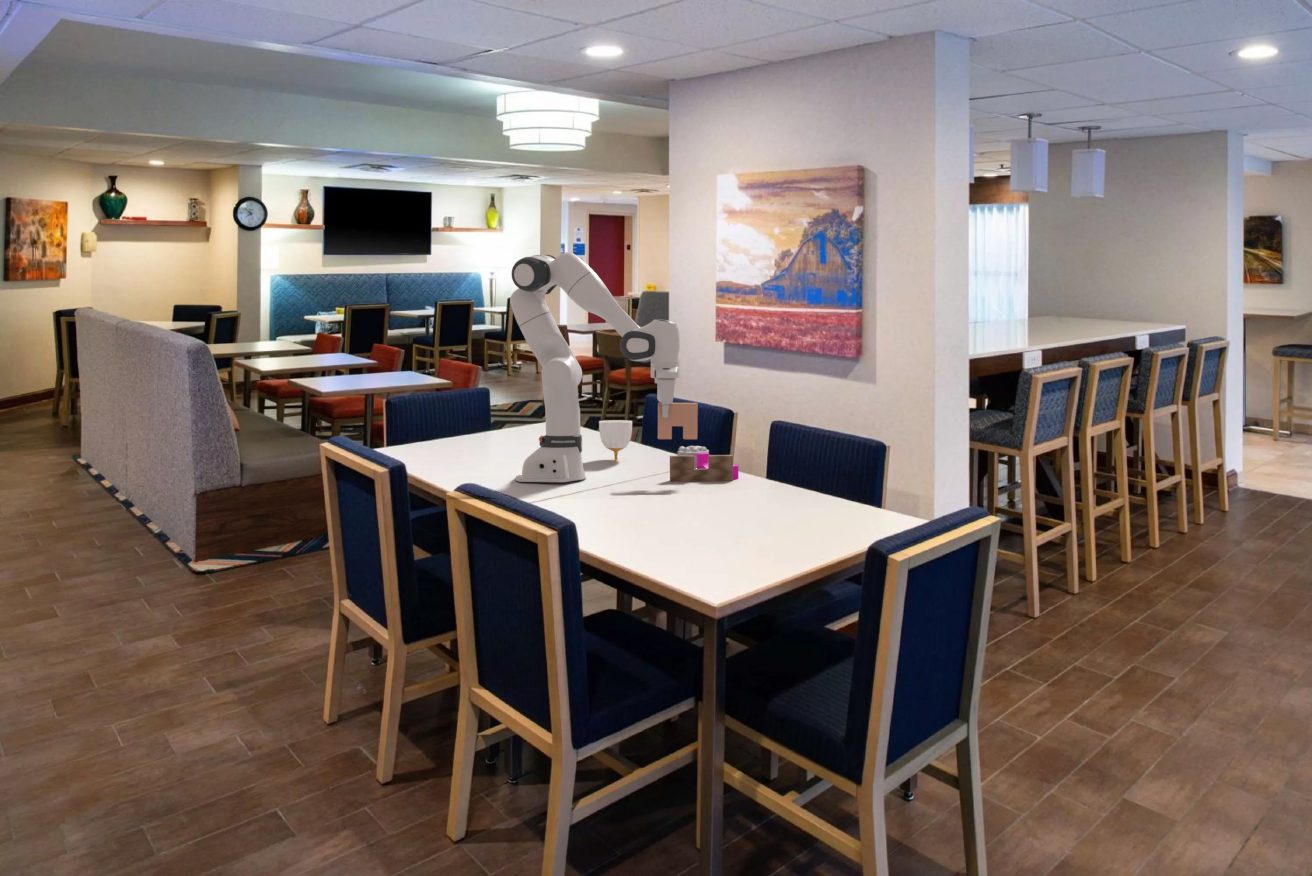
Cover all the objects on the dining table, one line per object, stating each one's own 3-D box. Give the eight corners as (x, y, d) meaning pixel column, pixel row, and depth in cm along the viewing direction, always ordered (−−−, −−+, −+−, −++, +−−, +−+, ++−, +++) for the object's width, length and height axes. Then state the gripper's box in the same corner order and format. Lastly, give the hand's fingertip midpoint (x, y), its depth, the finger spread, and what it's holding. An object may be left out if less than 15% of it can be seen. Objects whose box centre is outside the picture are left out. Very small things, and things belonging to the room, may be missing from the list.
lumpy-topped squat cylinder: (711, 469, 341) (710, 445, 340) (703, 474, 328) (703, 448, 327) (682, 469, 343) (681, 444, 342) (673, 473, 331) (673, 448, 330)
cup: (613, 466, 350) (612, 419, 349) (639, 469, 343) (639, 420, 342) (592, 470, 341) (592, 421, 339) (619, 472, 334) (618, 422, 332)
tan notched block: (697, 439, 298) (697, 403, 298) (658, 439, 298) (658, 403, 297) (696, 438, 302) (696, 402, 301) (657, 438, 301) (658, 402, 300)
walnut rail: (670, 481, 309) (670, 456, 308) (669, 480, 311) (669, 455, 310) (732, 480, 310) (732, 455, 309) (731, 479, 312) (731, 455, 311)
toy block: (738, 479, 315) (738, 456, 315) (722, 480, 312) (722, 457, 311) (712, 474, 328) (712, 452, 327) (696, 476, 325) (696, 453, 324)
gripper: (653, 371, 308) (652, 415, 309) (656, 372, 288) (656, 419, 289) (672, 371, 308) (672, 415, 310) (677, 373, 288) (677, 419, 289)
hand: (664, 417), depth 299 cm, fingers closed on tan notched block, 3 cm apart
